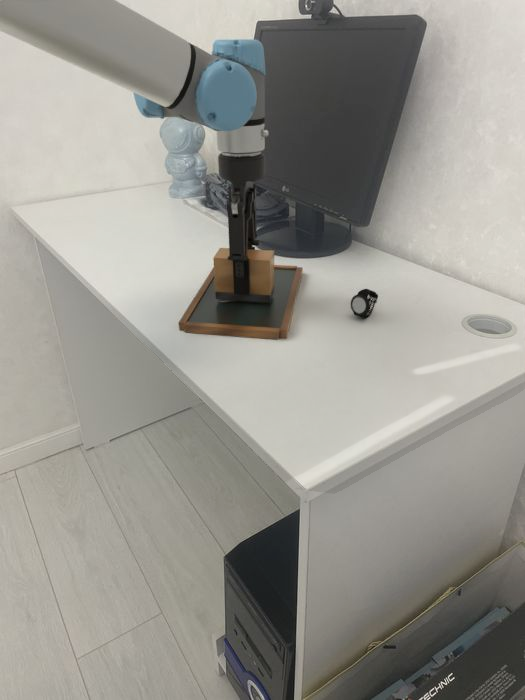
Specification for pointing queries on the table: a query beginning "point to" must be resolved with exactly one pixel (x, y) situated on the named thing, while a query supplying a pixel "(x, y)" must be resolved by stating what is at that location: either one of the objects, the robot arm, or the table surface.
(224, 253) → the eraser
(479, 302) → the table surface
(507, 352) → the table surface
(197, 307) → the slate board
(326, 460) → the table surface
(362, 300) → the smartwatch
